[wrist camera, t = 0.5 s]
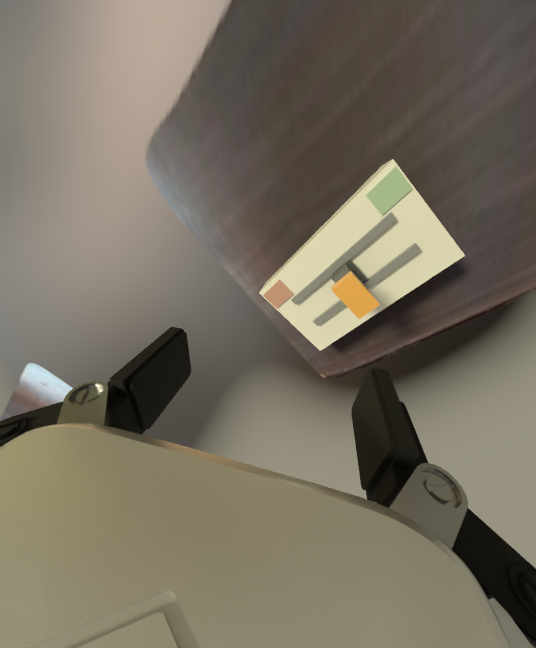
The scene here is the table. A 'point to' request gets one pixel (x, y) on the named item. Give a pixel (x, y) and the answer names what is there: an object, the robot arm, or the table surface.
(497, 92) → the table surface
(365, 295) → the handle
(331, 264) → the switch box
